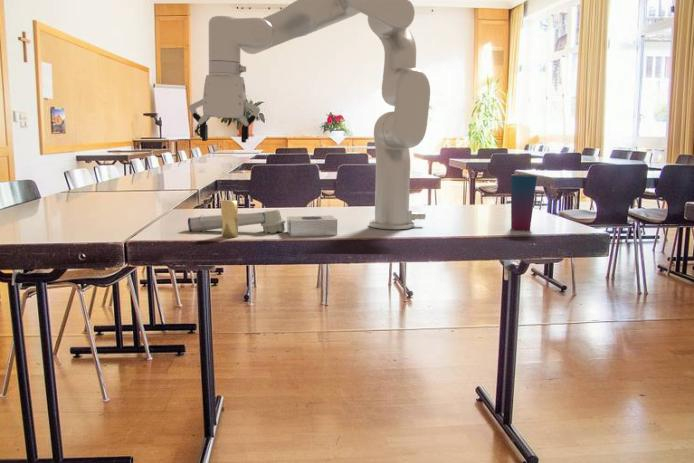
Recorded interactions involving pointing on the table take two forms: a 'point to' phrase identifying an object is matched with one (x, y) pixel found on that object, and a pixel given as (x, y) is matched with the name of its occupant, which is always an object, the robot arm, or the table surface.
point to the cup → (522, 200)
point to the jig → (311, 225)
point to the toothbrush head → (240, 221)
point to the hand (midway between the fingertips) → (224, 141)
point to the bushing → (229, 218)
